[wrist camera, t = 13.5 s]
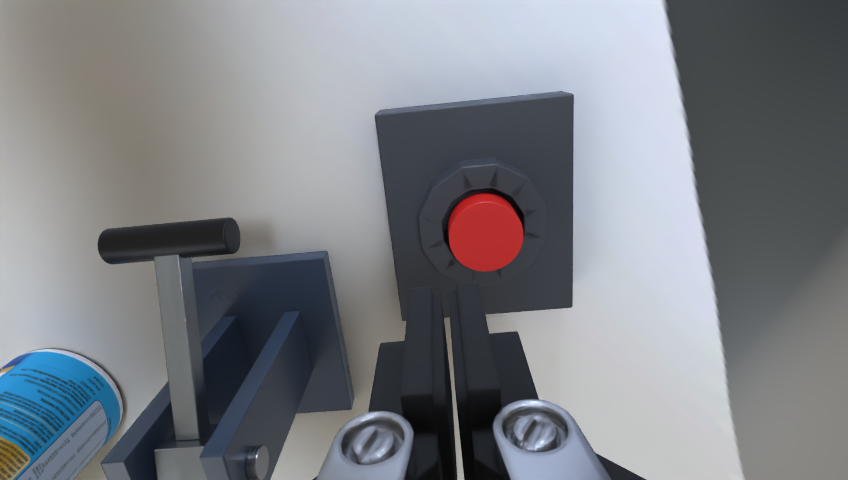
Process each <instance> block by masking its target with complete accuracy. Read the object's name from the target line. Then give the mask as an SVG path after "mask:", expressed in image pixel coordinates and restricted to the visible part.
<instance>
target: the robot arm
mask: <svg viewBox="0 0 848 480" xmlns="http://www.w3.org/2000/svg"><path fill="white" fill-rule="evenodd" d="M456 289H457V290H448V298H449V312H450V325H451V338H452V352H453V365H454V378H455V391H456V402H457V411H458V421H459V431H460V440H461V450H462V460H463V469H464V479H465V480H646V479H644V478H642V477H640V476H638V475H636V474H634V473H632V472H631V471H629V470H627V469H625V468H623V467H621V466H619V465H617V464H615V463H613V462H612V461H610V460H608V459H606V458H604V457H602V456H600V455H598V454H596V453H595V452H594V451H593V449H592V447H591V446H590V444H589V442H588V441H587V439H586V437H585V436H584V434H583V433H582V431H581V429H580V428H579V426H578V424H577V423H576V421H575V420H574V418H573V417H572V416H571V415H570V414H569V413H568V412H567V411H566V410H565V409H563V408H561V407H560V406H558V405H556V404H554V403H551V402H548V401H544V400H539V398H538V395H537V392H536V389H535V386H534V382H533V379H532V376H531V373H530V370H529V366H528V363H527V360H526V357H525V353H524V350H523V347H522V344H521V341H520V337H519V335H518V332H517V331H515V332H504V333H492V334H489V331H488V326H487V321H486V316H485V312H484V307H483V302H482V297H481V292H480V288H479V283H478V282H470V283H459V284H456ZM313 480H457V467H456V452H455V436H454V420H453V405H452V391H451V380H450V371H449V361H448V352H447V343H446V333H445V324H444V315H443V305H442V296H441V291H435V292H433V291H432V286H426V287H415V288H409V298H408V310H407V322H406V334H405V341H400V342H388V343H381V344H380V347H379V352H378V358H377V364H376V370H375V376H374V382H373V387H372V393H371V399H370V405H369V411H368V413H366V414H362V415H359V416H357V417H356V418H354V419H352V420H350V421H348V422H347V423H346V424H345V425H344V426H343V427H342V428H341V429H340V430H339V431H338V433H337V435H336V436H335V438H334V440H333V442H332V444H331V447H330V449H329V451H328V454H327V456H326V458H325V460H324V463H323V465H322V467H321V470H320V472H319V474H318V476H317V477H315V478H314V479H313Z"/></svg>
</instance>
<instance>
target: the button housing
mask: <svg viewBox="0 0 848 480" xmlns="http://www.w3.org/2000/svg"><path fill="white" fill-rule="evenodd" d="M573 107H574V95H573V94H571V93H567V92H563V91H559V92H550V93H540V94H530V95H521V96H511V97H501V98H492V99H482V100H472V101H463V102H453V103H443V104H434V105H424V106H414V107H405V108H395V109H385V110H380V111H378V112H377V113H376V114H375V121H376V129H377V136H378V144H379V151H380V159H381V166H382V174H383V181H384V189H385V196H386V204H387V211H388V219H389V226H390V234H391V241H392V249H393V256H394V264H395V271H396V279H397V286H398V294H399V301H400V309H401V316H402V320H403V321H407V310H408V298H409V288H415V287H426V286H432V291H433V292H435V291H441V296H442V305H443V315H444V318H445V317H450V312H449V298H448V290H457V289H456V284H459V283H470V282H478V283H479V288H480V292H481V297H482V302H483V307H484V312H485V314H495V313H508V312H521V311H533V310H546V309H559V308H571V307H572V297H573ZM476 193H493V194H496V195H499V196H501V197H503V198H504V199H505V200H507V201H508V202H509V203H510V204H511V206H512V207H513V208H514V210H515V212H516V214H517V216H518V218H519V219H520V222H521V224H522V227H523V234H524V235H523V243H522V247H521V249H520V251H519V253H518V254H517V256H516V257H515V258H514V259H513V260H512V261H511V262H510V263H509V264H507V265H506V266H504V267H502V268H500V269H497V270H494V271H476V270H473V269H470V268H468V267H466V266H464V265H463V264H461V263H460V262H459V261H458V260H457V259H456V257H455V256H454V254H453V253H452V251H451V248H450V244H449V235H448V221H449V217H450V214H451V212H452V210H453V209H454V207H455V206H456V205H457V204H458V203H459V202H460V201H461V200H462V199H464V198H466V197H467V196H470V195H472V194H476Z"/></svg>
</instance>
